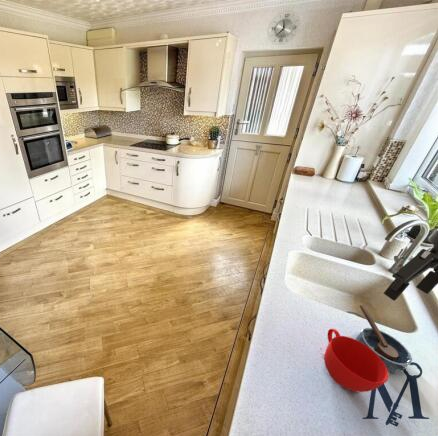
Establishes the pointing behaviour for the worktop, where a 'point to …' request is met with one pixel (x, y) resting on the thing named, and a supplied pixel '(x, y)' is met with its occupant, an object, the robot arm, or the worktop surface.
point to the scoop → (380, 339)
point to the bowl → (404, 356)
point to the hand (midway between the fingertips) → (405, 293)
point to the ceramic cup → (353, 364)
